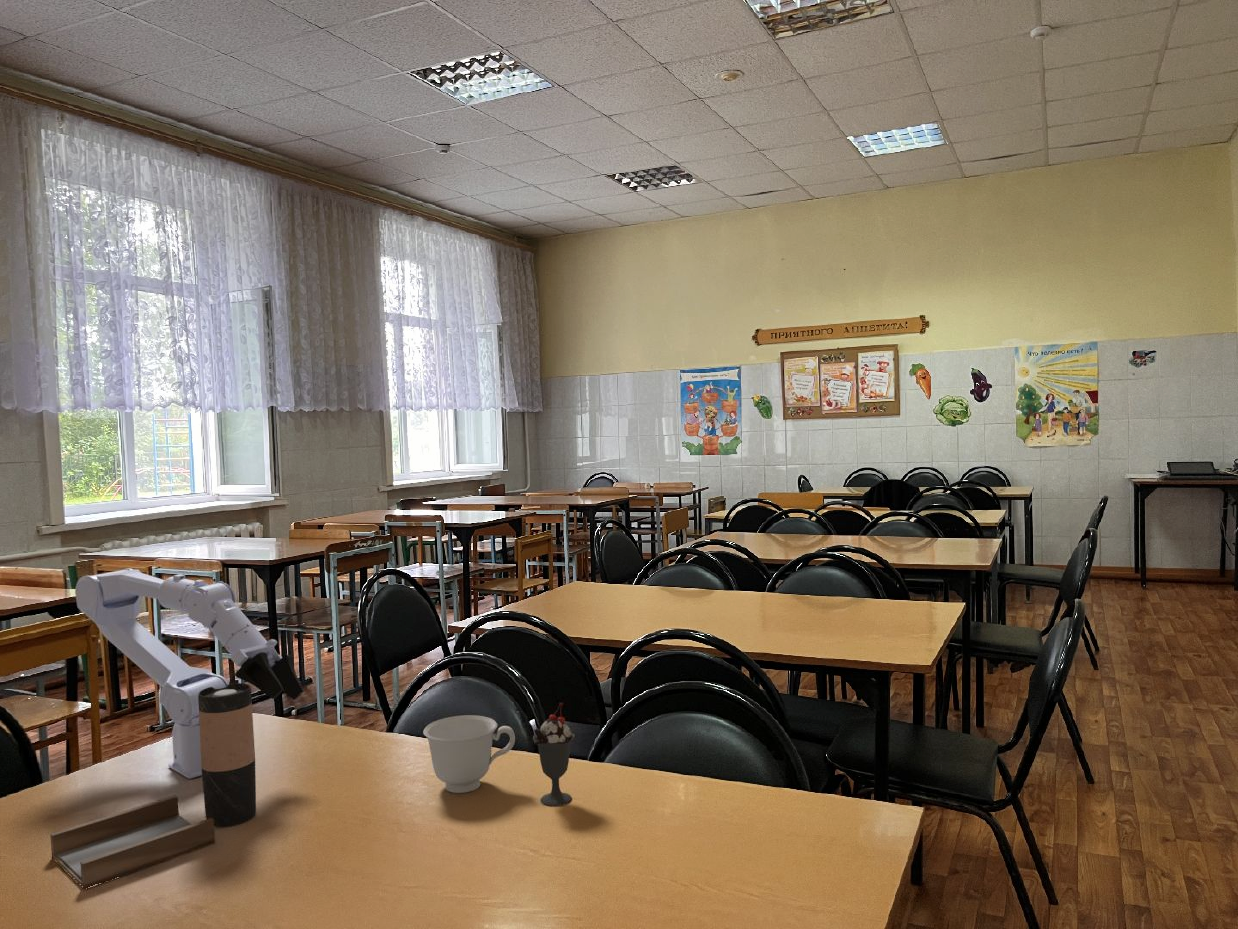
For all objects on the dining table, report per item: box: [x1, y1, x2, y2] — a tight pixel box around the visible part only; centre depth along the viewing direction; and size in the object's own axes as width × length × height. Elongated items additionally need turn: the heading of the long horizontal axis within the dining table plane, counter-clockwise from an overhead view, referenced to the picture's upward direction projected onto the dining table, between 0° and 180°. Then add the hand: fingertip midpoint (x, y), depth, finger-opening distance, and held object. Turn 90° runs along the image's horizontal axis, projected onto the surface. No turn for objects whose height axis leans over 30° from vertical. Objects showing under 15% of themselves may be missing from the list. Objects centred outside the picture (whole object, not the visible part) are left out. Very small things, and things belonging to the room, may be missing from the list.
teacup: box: [422, 714, 516, 794], centre depth 148 cm, size 12×15×10 cm
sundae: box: [532, 702, 576, 807], centre depth 142 cm, size 7×7×15 cm
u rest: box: [50, 794, 216, 890], centre depth 129 cm, size 14×17×4 cm
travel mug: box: [198, 682, 257, 828], centre depth 139 cm, size 8×8×20 cm
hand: (288, 695), depth 152 cm, fingers open, 7 cm apart
